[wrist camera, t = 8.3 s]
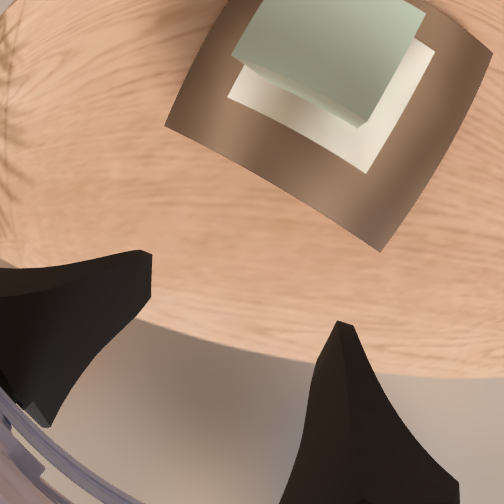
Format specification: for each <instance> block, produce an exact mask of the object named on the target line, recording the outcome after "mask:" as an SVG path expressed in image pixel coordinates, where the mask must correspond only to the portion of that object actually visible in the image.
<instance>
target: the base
mask: <svg viewBox="0 0 504 504" xmlns="http://www.w3.org/2000/svg"><path fill="white" fill-rule="evenodd" d="M404 1H406V2H408V3H409V4H411V5H413V6H415V7H416V8H418V9H420V10H421V11H423V12H424V13H426V15H425V17H424V19H423V21H422V23H421V25H420V26H419V28H418V30H417V32H416V34H415V36H414V38H413V40H412V42H411V44H410V46H409V47H408V49H407V51H406V53H405V55H404V57H403V59H402V61H401V62H400V64H399V66H398V68H397V70H396V72H395V73H394V75H393V77H392V79H391V81H390V82H389V84H388V86H387V88H386V90H385V91H384V93H383V95H382V97H381V99H380V100H379V102H378V104H377V106H376V107H375V109H374V111H373V113H372V114H371V116H370V118H369V120H368V121H367V122H366V123H364V124H363V125H362V126H360V127H359V128H358V129H357V128H355V127H354V126H352V125H350V124H349V123H347V122H345V121H344V120H342V119H340V118H338V117H337V116H335V115H333V114H331V113H330V112H328V111H326V110H324V109H322V108H321V107H319V106H317V105H315V104H313V103H311V102H309V101H307V100H305V99H303V98H301V97H299V96H297V95H295V94H293V93H291V92H289V91H287V90H285V89H283V88H281V87H279V86H276V85H274V84H272V83H270V82H268V81H266V80H265V79H263V78H262V77H261V76H259V75H258V74H257V73H255V72H254V71H253V70H251V69H250V68H249V67H247V66H246V65H245V64H243V63H242V62H240V61H239V60H238V59H236V58H235V57H233V56H232V55H231V54H232V52H233V50H234V49H235V47H236V45H237V43H238V41H239V40H240V38H241V36H242V35H243V33H244V31H245V29H246V28H247V26H248V24H249V23H250V21H251V19H252V18H253V16H254V15H255V13H256V11H257V10H258V8H259V7H260V5H261V3H262V2H263V0H229V1H228V3H227V4H226V6H225V7H224V9H223V10H222V12H221V14H220V15H219V17H218V19H217V20H216V22H215V24H214V25H213V27H212V29H211V31H210V32H209V34H208V36H207V38H206V39H205V41H204V43H203V45H202V47H201V49H200V50H199V52H198V54H197V56H196V58H195V60H194V62H193V64H192V66H191V68H190V70H189V72H188V74H187V76H186V78H185V80H184V82H183V84H182V86H181V89H180V91H179V93H178V95H177V97H176V100H175V102H174V104H173V106H172V109H171V111H170V113H169V116H168V118H167V120H166V123H165V125H164V126H166V127H168V128H170V129H172V130H174V131H176V132H178V133H180V134H182V135H184V136H186V137H188V138H190V139H192V140H194V141H196V142H198V143H200V144H201V145H203V146H205V147H207V148H209V149H211V150H213V151H215V152H217V153H219V154H220V155H222V156H224V157H226V158H228V159H230V160H232V161H233V162H235V163H237V164H239V165H241V166H242V167H244V168H246V169H248V170H250V171H251V172H253V173H255V174H257V175H258V176H260V177H262V178H264V179H265V180H267V181H269V182H270V183H272V184H274V185H276V186H277V187H279V188H281V189H282V190H284V191H286V192H287V193H289V194H291V195H292V196H294V197H296V198H297V199H299V200H300V201H302V202H304V203H305V204H307V205H309V206H310V207H312V208H313V209H315V210H317V211H318V212H320V213H321V214H323V215H324V216H326V217H328V218H329V219H331V220H332V221H334V222H335V223H337V224H338V225H340V226H341V227H343V228H344V229H346V230H348V231H349V232H351V233H352V234H354V235H355V236H356V237H358V238H359V239H361V240H362V241H364V242H365V243H367V244H368V245H370V246H371V247H373V248H374V249H375V250H377V251H378V252H381V251H382V249H383V248H384V247H385V245H386V244H387V243H388V241H389V240H390V239H391V237H392V236H393V234H394V233H395V232H396V230H397V229H398V227H399V226H400V224H401V223H402V222H403V220H404V219H405V217H406V216H407V214H408V213H409V211H410V210H411V208H412V207H413V205H414V204H415V202H416V201H417V199H418V198H419V196H420V195H421V193H422V191H423V190H424V188H425V187H426V185H427V183H428V182H429V180H430V179H431V177H432V175H433V174H434V172H435V170H436V169H437V167H438V165H439V164H440V162H441V160H442V159H443V157H444V155H445V153H446V152H447V150H448V148H449V146H450V144H451V143H452V141H453V139H454V137H455V135H456V133H457V132H458V130H459V128H460V126H461V124H462V122H463V120H464V118H465V116H466V114H467V112H468V110H469V108H470V106H471V104H472V102H473V100H474V97H475V95H476V93H477V91H478V89H479V87H480V84H481V82H482V80H483V77H484V75H485V73H486V70H487V68H488V65H489V63H490V60H491V58H492V55H493V53H492V52H491V51H490V50H489V49H488V48H487V47H486V46H484V45H483V44H482V43H481V42H480V41H479V40H477V39H476V38H475V37H474V36H473V35H471V34H470V33H469V32H468V31H466V30H465V29H464V28H462V27H461V26H460V25H458V24H457V23H456V22H454V21H453V20H452V19H450V18H449V17H447V16H446V15H445V14H443V13H442V12H440V11H439V10H437V9H436V8H434V7H433V6H431V5H429V4H428V3H426V2H425V1H423V0H404Z"/></svg>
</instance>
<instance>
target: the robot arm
mask: <svg viewBox="0 0 504 504" xmlns="http://www.w3.org/2000/svg"><path fill="white" fill-rule="evenodd" d="M151 275H152V254H150V253H147V252H145V251H142V250H133V251H128V252H123V253H118V254H113V255H109V256H105V257H100V258H96V259H92V260H87V261H82V262H77V263H72V264H67V265H60V266H53V267H44V268H23V269H11V268H0V504H74V503H72V502H71V501H70V500H68V499H67V498H66V497H64V496H63V495H62V494H61V493H59V492H58V491H57V490H56V489H54V488H53V487H52V486H51V485H50V484H48V483H47V482H46V481H45V480H44V479H43V478H42V477H40V475H41V474H42V473H43V472H44V471H45V467H44V466H43V465H42V464H41V463H40V462H39V461H38V460H37V459H36V458H35V457H34V456H33V455H32V454H31V453H30V452H29V451H28V450H27V449H26V448H25V447H24V446H23V445H22V444H21V443H20V442H19V441H18V440H17V439H16V438H15V437H14V436H13V434H12V433H11V428H12V427H11V424H12V425H13V427H14V428H15V429H16V430H17V431H18V432H19V433H20V434H21V435H22V436H23V437H24V438H25V439H26V440H27V441H28V442H29V443H30V444H31V445H32V446H33V447H34V448H35V449H36V450H37V451H38V452H39V453H40V454H41V455H42V456H43V457H44V458H46V459H47V460H48V461H49V462H50V463H51V464H52V465H53V466H55V467H56V468H57V469H58V470H59V471H60V472H62V473H63V474H64V475H65V476H67V477H68V478H69V479H70V480H72V481H73V482H74V483H76V484H77V485H78V486H80V487H81V488H82V489H84V490H85V491H86V492H88V493H89V494H91V495H92V496H94V497H95V498H97V499H98V500H100V501H101V502H102V503H104V504H144V503H142V502H140V501H139V500H137V499H135V498H133V497H131V496H130V495H128V494H126V493H125V492H123V491H121V490H120V489H118V488H116V487H115V486H113V485H111V484H110V483H108V482H107V481H105V480H104V479H102V478H101V477H99V476H98V475H96V474H95V473H93V472H92V471H91V470H89V469H88V468H86V467H85V466H83V465H82V464H81V463H80V462H78V461H77V460H76V459H74V458H73V457H72V456H71V455H69V454H68V453H67V452H66V451H64V450H63V449H62V448H61V447H60V446H58V445H57V444H56V443H55V442H54V441H53V440H52V439H50V438H49V437H48V436H47V435H46V434H45V433H44V432H43V431H42V430H41V429H40V428H38V427H37V426H36V425H35V424H34V423H33V422H32V421H31V420H30V419H29V418H28V417H27V416H26V415H25V414H24V413H23V412H22V411H21V409H20V408H18V406H17V405H16V403H17V404H18V405H19V406H20V407H21V408H22V409H23V410H25V411H26V412H27V413H28V414H29V415H30V416H31V417H32V418H33V419H34V420H35V421H36V422H37V423H38V424H39V425H40V426H41V427H44V428H49V427H51V425H52V423H53V421H54V419H55V417H56V415H57V413H58V411H59V409H60V407H61V405H62V403H63V402H64V400H65V399H66V397H67V395H68V394H69V392H70V390H71V388H72V387H73V386H74V384H75V383H76V381H77V380H78V378H79V377H80V376H81V374H82V373H83V371H84V370H85V369H86V367H87V366H88V365H89V364H90V362H91V361H92V360H93V359H94V357H95V356H96V355H97V353H99V352H100V351H101V349H102V348H103V347H104V346H105V345H107V344H108V343H109V342H110V341H111V340H112V339H113V338H114V337H115V336H116V335H117V334H118V333H119V332H120V331H121V330H122V329H123V328H124V327H125V326H126V325H127V324H128V323H129V322H130V321H131V320H133V319H134V318H135V317H136V316H137V314H138V313H139V312H140V311H141V310H142V308H143V307H144V306H145V304H146V303H147V302H148V300H149V299H150V298H151ZM279 504H460V493H459V483H458V481H457V480H455V479H454V478H453V477H452V476H451V475H450V474H449V473H448V472H447V471H445V470H444V469H443V468H442V467H441V466H440V465H439V464H438V463H437V462H436V461H435V460H434V459H433V458H432V457H431V456H430V455H429V454H428V453H427V451H426V450H425V449H424V448H423V447H422V446H421V445H420V443H419V442H418V441H417V440H416V439H415V437H414V436H413V435H412V434H411V432H410V431H409V430H408V428H407V427H406V426H405V424H404V423H403V421H402V420H401V419H400V417H399V416H398V414H397V413H396V411H395V409H394V408H393V406H392V405H391V403H390V402H389V400H388V398H387V396H386V395H385V393H384V391H383V389H382V387H381V385H380V383H379V381H378V380H377V378H376V376H375V373H374V371H373V369H372V367H371V365H370V363H369V361H368V359H367V356H366V354H365V352H364V349H363V347H362V345H361V342H360V340H359V338H358V335H357V333H356V331H355V328H354V326H353V325H350V324H347V323H344V322H341V321H337V322H336V324H335V326H334V328H333V330H332V332H331V334H330V336H329V338H328V340H327V342H326V344H325V346H324V348H323V350H322V352H321V354H320V355H319V357H318V359H317V362H316V365H315V369H314V373H313V377H312V381H311V386H310V391H309V398H308V405H307V411H306V418H305V424H304V429H303V435H302V439H301V444H300V448H299V451H298V454H297V457H296V460H295V463H294V466H293V469H292V472H291V475H290V477H289V480H288V483H287V485H286V488H285V491H284V493H283V495H282V498H281V500H280V503H279Z"/></svg>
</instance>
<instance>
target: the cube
mask: <svg viewBox="0 0 504 504" xmlns="http://www.w3.org/2000/svg"><path fill="white" fill-rule="evenodd" d="M425 15H426V13H424V12H423V11H421V10H420V9H418V8H416V7H415V6H413V5H411V4H409V3H408V2H406V1H404V0H263V2H262V3H261V5H260V7H259V8H258V10H257V11H256V13H255V15H254V16H253V18H252V19H251V21H250V23H249V24H248V26H247V28H246V29H245V31H244V33H243V35H242V36H241V38H240V40H239V41H238V43H237V45H236V47H235V49H234V50H233V52H232V54H231V55H232V56H233V57H235V58H236V59H238V60H239V61H240V62H242V63H243V64H245V65H246V66H247V67H249V68H250V69H251V70H253V71H254V72H255V73H257V74H258V75H259V76H261V77H262V78H263V79H265V80H266V81H268V82H270V83H272V84H274V85H276V86H279V87H281V88H283V89H285V90H287V91H289V92H291V93H293V94H295V95H297V96H299V97H301V98H303V99H305V100H307V101H309V102H311V103H313V104H315V105H317V106H319V107H321V108H322V109H324V110H326V111H328V112H330V113H331V114H333V115H335V116H337V117H338V118H340V119H342V120H344V121H345V122H347V123H349V124H350V125H352V126H354V127H355V128H357V129H358V128H359V127H360V126H362V125H363V124H364V123H366V122H367V121H368V120H369V118H370V116H371V114H372V113H373V111H374V109H375V107H376V106H377V104H378V102H379V100H380V99H381V97H382V95H383V93H384V91H385V90H386V88H387V86H388V84H389V82H390V81H391V79H392V77H393V75H394V73H395V72H396V70H397V68H398V66H399V64H400V62H401V61H402V59H403V57H404V55H405V53H406V51H407V49H408V47H409V46H410V44H411V42H412V40H413V38H414V36H415V34H416V32H417V30H418V28H419V26H420V25H421V23H422V21H423V19H424V17H425Z"/></svg>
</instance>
